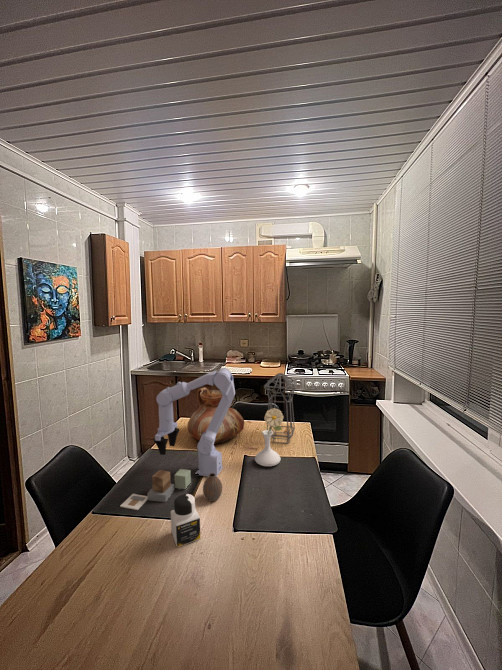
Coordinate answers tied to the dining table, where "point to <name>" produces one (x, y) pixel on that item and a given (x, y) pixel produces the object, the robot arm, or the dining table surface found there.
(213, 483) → the brown coconut
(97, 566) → the dining table surface
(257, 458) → the flower in vase
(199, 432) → the jug
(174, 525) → the medicine bottle
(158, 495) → the grey square block
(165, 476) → the walnut block
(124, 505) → the card
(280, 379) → the geometric lantern
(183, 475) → the sage block
